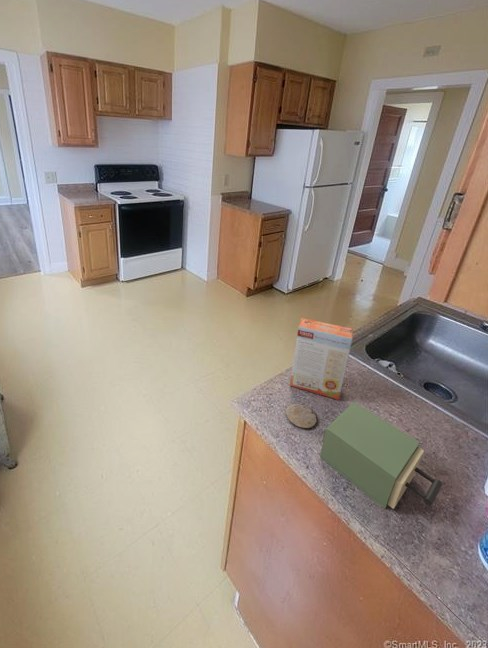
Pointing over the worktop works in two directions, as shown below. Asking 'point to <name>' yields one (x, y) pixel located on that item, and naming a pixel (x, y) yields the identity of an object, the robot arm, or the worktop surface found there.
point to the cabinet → (367, 451)
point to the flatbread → (301, 415)
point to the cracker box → (321, 357)
